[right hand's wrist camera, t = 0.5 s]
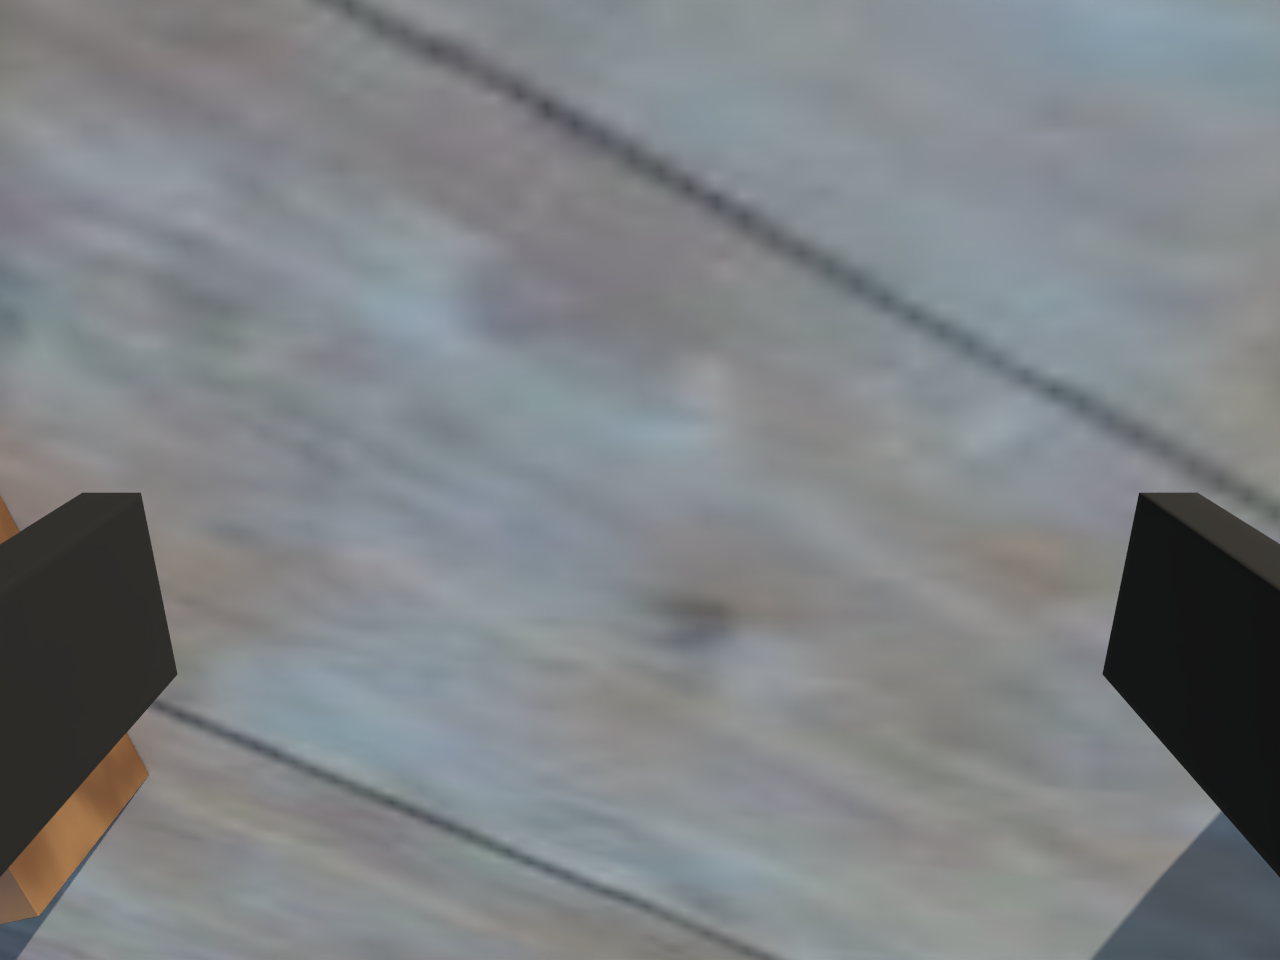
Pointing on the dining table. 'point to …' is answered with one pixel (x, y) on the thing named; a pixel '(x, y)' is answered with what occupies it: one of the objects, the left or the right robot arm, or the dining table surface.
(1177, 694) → the right robot arm
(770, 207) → the dining table surface
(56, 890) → the box
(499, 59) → the dining table surface
